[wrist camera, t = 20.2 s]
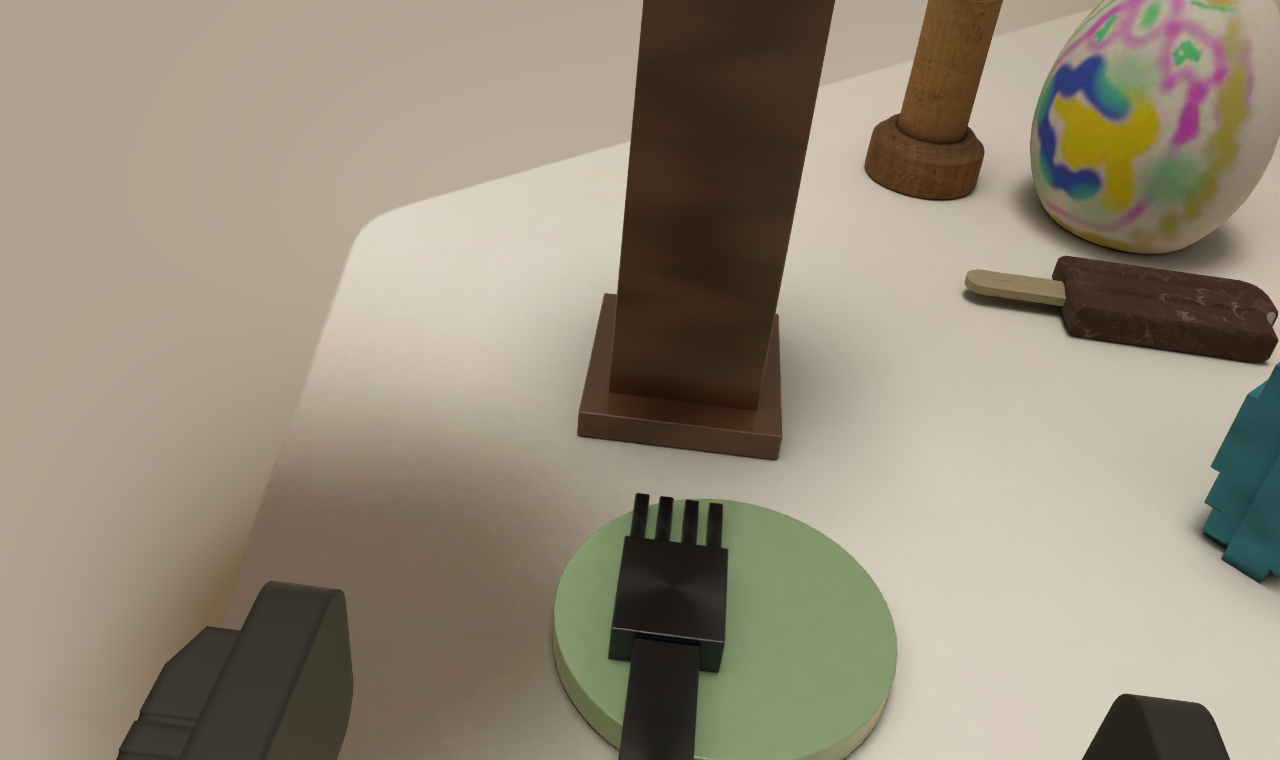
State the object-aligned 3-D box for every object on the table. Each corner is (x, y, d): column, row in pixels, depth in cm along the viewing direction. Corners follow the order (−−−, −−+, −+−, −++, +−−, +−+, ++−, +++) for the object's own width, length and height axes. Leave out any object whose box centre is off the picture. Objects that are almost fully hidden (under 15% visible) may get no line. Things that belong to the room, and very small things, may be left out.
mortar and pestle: (876, 196, 64) (956, -142, 53) (855, 148, 69) (924, -169, 58) (988, 203, 64) (1090, -130, 54) (959, 155, 70) (1046, -157, 59)
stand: (571, 460, 43) (644, -607, 25) (606, 297, 52) (676, -554, 34) (778, 485, 43) (1005, -569, 24) (774, 318, 52) (935, -526, 34)
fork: (551, 1046, 25) (554, 1017, 24) (630, 503, 39) (633, 474, 38) (702, 1067, 25) (710, 1039, 24) (725, 516, 39) (731, 486, 38)
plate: (525, 763, 32) (526, 737, 31) (576, 505, 41) (577, 480, 40) (907, 812, 32) (917, 788, 31) (874, 542, 41) (881, 518, 40)
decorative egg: (964, 192, 65) (1041, -74, 56) (1100, 159, 71) (1190, -87, 62) (1133, 294, 57) (1253, 2, 48) (1272, 248, 63) (1402, -20, 54)
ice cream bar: (967, 321, 54) (1283, 367, 53) (976, 292, 53) (1298, 339, 52) (956, 267, 58) (1249, 309, 57) (964, 240, 57) (1262, 282, 56)
